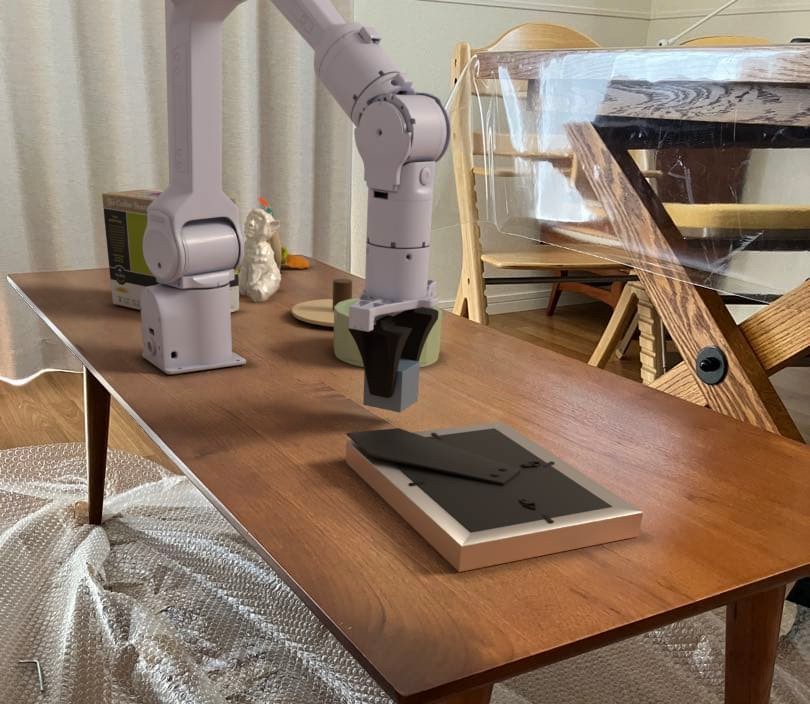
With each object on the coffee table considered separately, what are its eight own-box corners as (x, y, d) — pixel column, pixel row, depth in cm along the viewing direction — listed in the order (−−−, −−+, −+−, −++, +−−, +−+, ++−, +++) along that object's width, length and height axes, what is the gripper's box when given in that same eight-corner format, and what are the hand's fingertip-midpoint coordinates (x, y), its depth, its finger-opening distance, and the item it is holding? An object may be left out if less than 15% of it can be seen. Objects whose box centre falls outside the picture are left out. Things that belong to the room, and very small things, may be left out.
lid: (324, 336, 116) (324, 296, 114) (274, 312, 126) (273, 274, 124) (411, 325, 124) (413, 287, 121) (357, 303, 133) (358, 267, 131)
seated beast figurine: (211, 292, 135) (207, 206, 129) (251, 283, 141) (249, 201, 136) (258, 303, 130) (256, 215, 125) (298, 294, 136) (298, 209, 131)
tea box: (242, 311, 126) (238, 197, 119) (190, 324, 118) (183, 204, 111) (163, 293, 133) (156, 185, 126) (109, 305, 125) (98, 190, 118)
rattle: (311, 275, 149) (311, 201, 143) (260, 274, 147) (258, 199, 142) (309, 266, 155) (309, 195, 150) (260, 265, 154) (258, 193, 149)
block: (400, 412, 86) (402, 372, 84) (362, 405, 88) (364, 364, 86) (417, 401, 90) (420, 361, 88) (381, 393, 91) (383, 354, 89)
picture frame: (345, 462, 80) (458, 572, 64) (346, 432, 79) (462, 536, 62) (499, 441, 86) (638, 536, 70) (502, 413, 85) (644, 503, 69)
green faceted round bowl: (371, 375, 103) (372, 327, 100) (315, 347, 112) (315, 302, 109) (459, 361, 109) (462, 315, 107) (399, 335, 118) (401, 293, 116)
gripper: (404, 261, 74) (396, 419, 81) (469, 237, 86) (457, 377, 92) (328, 250, 77) (326, 404, 83) (401, 229, 89) (395, 365, 95)
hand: (391, 389), depth 88 cm, fingers closed on block, 4 cm apart
